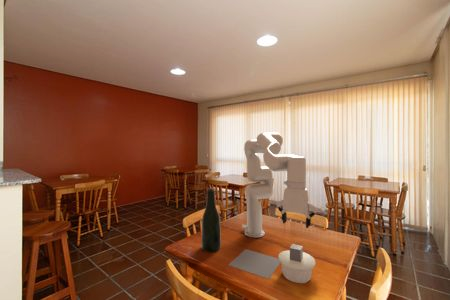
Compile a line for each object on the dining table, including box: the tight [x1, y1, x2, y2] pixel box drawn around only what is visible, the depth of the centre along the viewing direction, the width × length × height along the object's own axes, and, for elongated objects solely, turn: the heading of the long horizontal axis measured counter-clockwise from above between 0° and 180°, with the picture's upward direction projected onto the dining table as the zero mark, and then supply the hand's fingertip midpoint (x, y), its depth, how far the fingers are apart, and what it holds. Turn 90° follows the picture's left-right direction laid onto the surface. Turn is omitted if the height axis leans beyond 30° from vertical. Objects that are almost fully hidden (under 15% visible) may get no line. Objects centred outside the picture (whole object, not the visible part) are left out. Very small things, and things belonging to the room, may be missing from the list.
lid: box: [277, 243, 316, 270], centre depth 92 cm, size 15×15×6 cm
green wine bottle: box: [201, 187, 222, 253], centre depth 118 cm, size 10×10×33 cm
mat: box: [228, 249, 281, 280], centre depth 103 cm, size 20×18×1 cm
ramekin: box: [280, 263, 314, 284], centre depth 92 cm, size 13×13×7 cm
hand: (295, 224), depth 92 cm, fingers open, 9 cm apart
